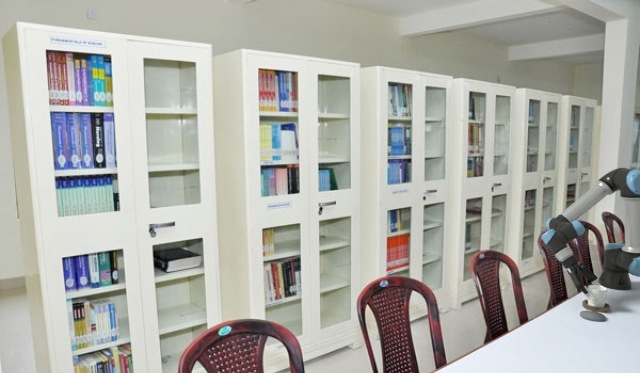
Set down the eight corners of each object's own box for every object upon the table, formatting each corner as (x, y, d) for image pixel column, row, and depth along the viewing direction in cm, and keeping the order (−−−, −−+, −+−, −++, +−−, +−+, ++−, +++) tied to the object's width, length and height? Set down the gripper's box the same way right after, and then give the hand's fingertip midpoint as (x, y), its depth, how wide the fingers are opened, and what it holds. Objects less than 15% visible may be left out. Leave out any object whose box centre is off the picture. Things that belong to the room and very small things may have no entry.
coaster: (584, 310, 220) (585, 308, 220) (608, 317, 212) (608, 315, 212) (576, 316, 213) (576, 314, 213) (600, 323, 206) (600, 321, 206)
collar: (587, 301, 231) (588, 297, 231) (612, 308, 223) (613, 304, 223) (578, 307, 224) (579, 303, 224) (604, 314, 216) (604, 310, 216)
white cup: (600, 304, 227) (602, 285, 226) (608, 311, 219) (610, 290, 218) (583, 304, 228) (584, 284, 226) (591, 310, 220) (592, 290, 219)
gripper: (571, 257, 242) (601, 293, 232) (550, 267, 225) (581, 306, 216) (583, 249, 237) (614, 286, 228) (562, 258, 221) (594, 298, 212)
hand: (598, 296), depth 222 cm, fingers open, 13 cm apart
